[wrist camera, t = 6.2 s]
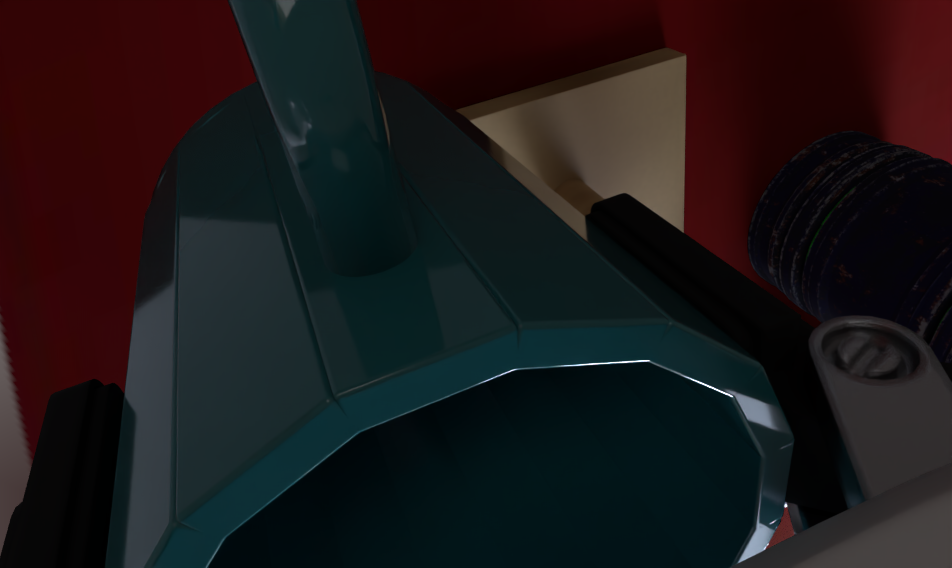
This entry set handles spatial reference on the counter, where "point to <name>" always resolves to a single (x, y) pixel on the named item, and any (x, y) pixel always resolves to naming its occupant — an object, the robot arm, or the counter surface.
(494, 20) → the counter surface
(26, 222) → the counter surface
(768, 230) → the storage jar
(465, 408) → the mug
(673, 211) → the mug stand
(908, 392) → the robot arm
